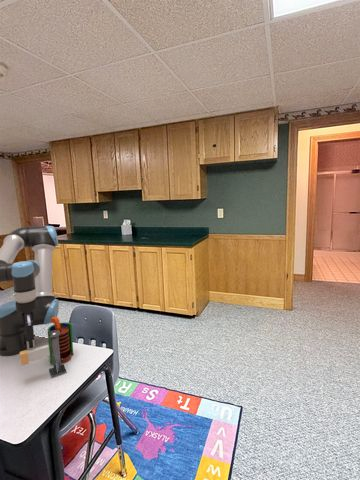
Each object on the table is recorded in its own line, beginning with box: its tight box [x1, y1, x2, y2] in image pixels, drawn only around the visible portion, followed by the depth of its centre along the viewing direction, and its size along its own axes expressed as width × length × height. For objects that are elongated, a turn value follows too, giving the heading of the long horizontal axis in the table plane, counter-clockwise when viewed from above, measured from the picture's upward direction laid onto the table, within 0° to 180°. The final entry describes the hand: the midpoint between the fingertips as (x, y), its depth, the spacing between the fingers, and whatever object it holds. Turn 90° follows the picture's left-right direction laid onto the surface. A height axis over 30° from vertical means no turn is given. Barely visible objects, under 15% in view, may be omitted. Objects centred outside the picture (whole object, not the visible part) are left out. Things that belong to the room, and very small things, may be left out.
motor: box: [47, 316, 74, 366], centre depth 120 cm, size 10×9×20 cm
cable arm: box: [19, 344, 50, 366], centre depth 107 cm, size 3×10×5 cm, turn 124°
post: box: [47, 330, 68, 379], centre depth 111 cm, size 6×6×18 cm
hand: (31, 353), depth 110 cm, fingers closed
